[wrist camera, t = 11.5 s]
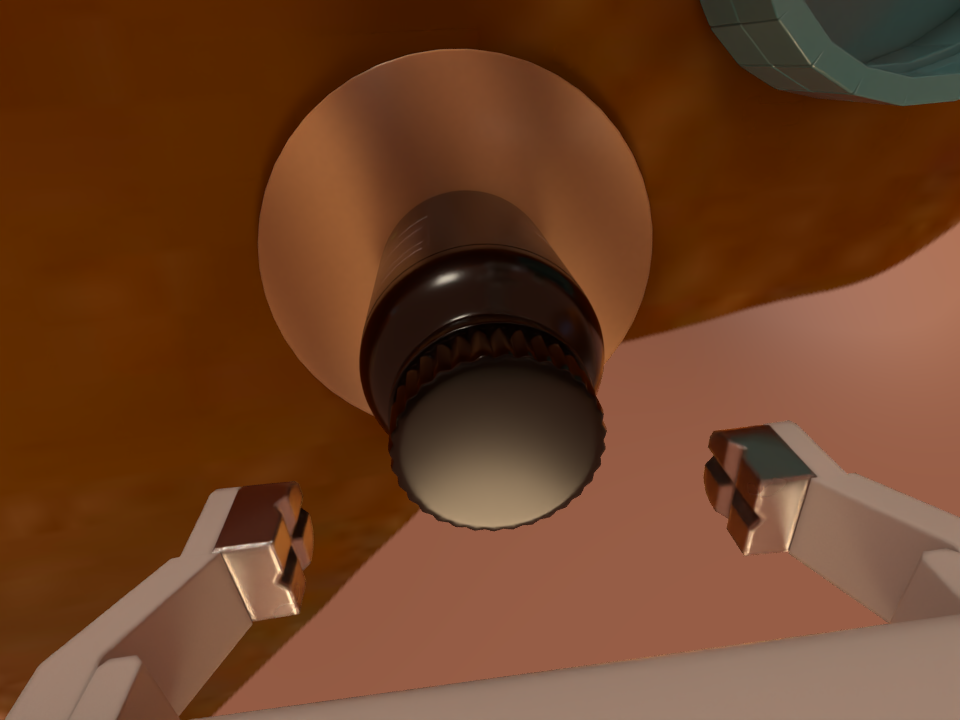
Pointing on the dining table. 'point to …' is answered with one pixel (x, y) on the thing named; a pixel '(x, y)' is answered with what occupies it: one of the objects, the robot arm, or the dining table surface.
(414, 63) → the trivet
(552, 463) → the supplement bottle
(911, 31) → the pan
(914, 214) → the dining table surface
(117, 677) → the robot arm
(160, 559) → the dining table surface
